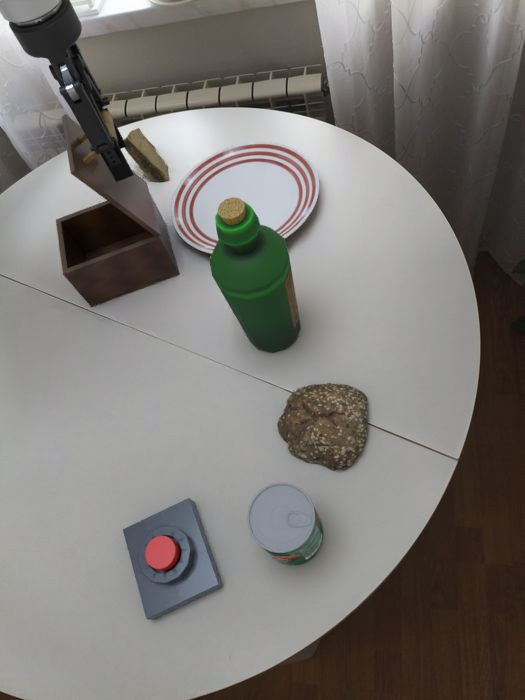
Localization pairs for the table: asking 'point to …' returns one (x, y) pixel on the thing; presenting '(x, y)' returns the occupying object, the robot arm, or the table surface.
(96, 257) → the chest
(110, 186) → the lid
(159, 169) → the rock
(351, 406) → the bread roll
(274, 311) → the bottle
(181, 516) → the button block
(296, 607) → the table surface
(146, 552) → the button
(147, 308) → the table surface
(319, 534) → the canned tomato
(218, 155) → the dinner plate
